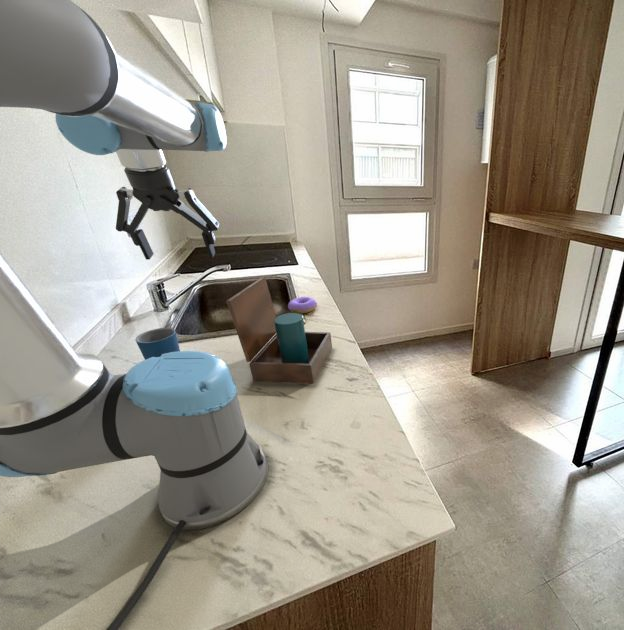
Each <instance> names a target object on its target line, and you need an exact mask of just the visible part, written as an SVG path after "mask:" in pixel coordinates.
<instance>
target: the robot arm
mask: <svg viewBox="0 0 624 630" xmlns="http://www.w3.org/2000/svg"><path fill="white" fill-rule="evenodd" d="M0 108H21V109H23V108H24V109H35V110H42V111H46V112H49V113H52V114H55V123H56V126H57V128H58V131H59V132H60V134H61V135H62V136H63V137H64V139H65V140H67V141H68V143H69V144H71V145H72V146H74V147H75V148H77V149H78V150H79V151H82V152H84V153H86V154H90V155H95V156H106V155H109V154H114V153H115V154H116V156H117V158H118V161H119V162H120V165H121V166H122V167H123V168H124V170H123V171H124V173H125V176H126V178H127V180H128V183H129V184H130V186H131V188H132V189H128V188H127V187H126V186H121V187H119V188H118V190H117V191H116V192H115V194H116V197H117V199H118V205H117V213H116V222H115V230H116V231H117V232H125V233H127V234H128V235H129V237H130V238H131V240H132V243H133V244H134V246H137V247H139V248H140V250H141V253H142V254H143V257H144V258H145V260H151V258H152V257H153V256H154V251H153V249H152V247H151V245H150V243H149V241H148V239H147V235H146V234H145V232H144V230H143V229H142V228H139V226H140V225H141V224H142V221H143V220H144V218H145V216H146V215H147V213H148V211H149V210H152V211H153V212H159V211H162V212H163V211H164V212H170V211H172V212H174V213H176V214H179V215H181V217H183V218H184V219H186V220H187V221H189V222H190V223H192V225H194V226H196V227H197V228H198V229H199V230H201V231H202V232H201V236H202V239H203V242H204V245H205V248H206V251H207V254H208V257H209V259H210V258H211V259H214V256H215V254H216V250H215V247H214V245H215V243H216V240H217V239H216V237H215V234H214V232H215V231H218V229H219V227H220V222H219V221H218V220H217V219H216V218H215V216H213V214H212V213H211V212H210V211H209V210H208V209H207V208H206V206H205V205H204V204H203V203H202V202H201V201H200V200H199V199H198V197H197V196H196V193H195V191H194V189H192V188H191V187H188V188H187V189H183V190H181V189H180V190H179V189H178V188H177V187H176V186H175V185H176V184H175V182H174V179H173V175H172V173H171V171H170V168H169V166H168V165H166V164H167V160H166V157H165V155H164V151H190V152H191V151H192V152H205V153H209V152H221V151H222V152H223V151H224V150H225V149H226V147H227V143H228V142H227V132H226V126H225V123H224V120H223V117H222V114H221V112H220V110H219V108H218V107H217V106H215V105H214V104H212V103H206V102H201V101H196V102H195V101H194V102H191V101H188V100H187V99H185V98H184V97H183V96H182V95H180V94H179V93H177V92H176V91H174V90H173V89H172V88H171V87H169V86H167V84H165V83H163V82H162V81H161V80H160V79H158V78H157V77H155V75H152V73H150V72H149V71H147V70H146V69H145V68H143V67H142V66H141V65H139V64H138V63H136V61H134V60H132V58H129V56H127V55H125V54H124V53H123V52H122V51H120V50H119V49H118V48H116V47H115V46H113V45H112V42H111V41H110V39H109V37H108V36H107V34H106V32H105V31H104V30H103V29H102V27H101V26H100V25H99V24H98V22H96V20H95V19H93V17H92V16H90V15H89V14H88V13H87V12H86V11H85V10H84V9H83V8H81V7H80V6H79V5H78V4H76V3H75V2H74V1H73V0H0ZM163 150H164V151H163ZM133 197H134V198H135V199H136V200H138V201H139V203H141V204H140V206H139V207H138V210H137V212H136V214H135V215H134V216H133V219H132V220H131V222H130V223H129V224H128V220H129V213H130V207H131V200H132V199H133ZM180 198H182V199H183V200H184V201H185V202H187V203H188V205H189V206H190V207H191V208H192V209H193V210H191V209H190V208H189V207H188V206H187V205H186V204H185V203H184V202H183V201H181V200H180ZM138 228H139V229H138ZM240 405H241V404H240V400H239V397H238V394H237V386H236V383H235V380H234V379H233V378H232V374H231V372H230V369H229V366H228V364H227V363H226V362H225V361H224V360H223V359H221V358H219V357H218V356H217V355H214V354H212V353H209V352H205V351H200V350H199V351H198V350H182V351H181V350H180V351H178V352H170V353H165V354H162V355H161V357H151V358H149V359H146V360H145V359H143V360H142V361H140V362H138V363H137V364H135V365H134V366H132V367H131V368H129V370H128V371H127V372H126V373H121V374H120V373H119V374H113V373H111V372H110V371H109V370H108V368H107V367H106V366H105V364H104V362H103V360H102V359H101V358H100V357H99V356H97V355H95V354H93V353H90V352H85V351H83V352H82V351H75V349H74V347H72V345H71V344H70V342H69V341H68V340H67V339H66V337H65V336H64V334H63V333H62V332H61V330H60V329H59V328H58V326H57V325H56V323H54V321H53V320H52V318H51V317H50V315H49V314H48V313H47V312H46V310H45V309H44V307H43V306H42V305H41V304H40V302H39V301H38V300H37V298H36V296H35V295H33V293H32V292H31V289H29V287H28V286H27V285H26V283H25V282H24V281H23V280H22V278H21V277H20V276H19V274H18V273H17V271H16V270H15V269H14V267H13V266H12V265H11V263H10V262H9V260H7V258H6V257H5V255H4V254H3V253H2V252H1V250H0V477H6V478H25V477H41V476H48V475H49V476H50V475H55V474H57V473H61V472H65V471H71V470H75V469H76V470H77V469H81V468H88V467H93V466H99V465H104V464H105V465H106V464H110V463H115V462H120V461H126V460H132V459H133V460H134V459H138V458H139V459H140V458H144V457H151V456H153V457H154V459H155V461H156V463H157V465H158V468H159V470H160V473H159V482H158V483H159V485H158V494H157V498H158V499H157V501H158V509H159V511H160V513H161V515H162V517H163V519H164V521H165V522H166V523H167V524H168V525H169V526H171V527H173V528H174V529H173V531H172V533H171V534H170V536H169V537H168V539H167V540H166V542H165V544H164V545H163V547H162V548H161V550H160V552H159V554H158V555H157V557H156V558H155V560H154V562H153V564H152V565H151V567H150V568H149V570H148V572H147V573H146V574H145V576H144V578H143V579H142V581H141V582H140V584H139V586H138V587H137V589H136V590H135V591H134V593H133V594H132V595H131V597H130V598H129V600H128V601H127V603H126V604H125V605H124V607H123V608H122V609H121V611H120V612H119V613H118V615H117V616H116V617H115V619H114V620H113V621H112V623H110V625H109V626H108V627H107V629H106V630H119V628H120V627H121V625H122V624H123V623H124V621H125V620H126V619H127V617H128V616H129V614H130V613H131V612H132V610H133V609H134V608H135V606H136V604H137V603H138V602H139V601H140V599H141V597H142V596H143V594H144V593H145V591H146V590H147V589H148V587H149V585H150V584H151V582H152V581H153V579H154V578H155V576H156V575H157V573H158V571H159V569H160V568H161V565H162V564H163V562H164V560H165V559H166V557H167V555H168V554H169V552H170V550H171V549H172V547H173V546H174V544H175V542H176V540H177V539H178V537H179V535H180V534H181V532H182V531H183V530H184V531H196V530H197V531H198V530H203V529H207V528H210V527H213V526H216V525H219V524H220V523H223V522H225V521H227V520H229V519H231V518H233V517H234V516H236V515H237V514H238V513H240V512H241V511H243V510H244V509H245V508H247V506H249V505H250V504H251V503H252V502H253V501H254V500H255V498H256V497H257V496H258V495H259V493H260V492H261V491H262V490H263V488H264V485H265V483H266V480H267V479H268V475H269V465H268V460H267V456H266V454H265V452H264V450H263V448H262V447H263V446H262V445H261V444H260V443H259V442H256V441H255V439H253V437H252V436H251V435H250V434H249V433H248V432H247V428H246V424H245V421H244V417H243V413H242V409H241V406H240Z"/></svg>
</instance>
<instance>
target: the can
mask: <svg viewBox="0 0 624 630" xmlns="http://www.w3.org/2000/svg"><path fill="white" fill-rule="evenodd" d="M274 322H275V328H276V333H277V338H278V344H279V349H280V354H281V360H282V363H303V364H308V363H309V356H308V349H307V342H306V335H305V332H306V329H305V322H304V316H303V315H302V313H294V312H287V313H283V314H280V315H278V316H276V318H275V319H274Z"/></svg>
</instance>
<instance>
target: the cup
mask: <svg viewBox="0 0 624 630" xmlns="http://www.w3.org/2000/svg"><path fill="white" fill-rule="evenodd" d="M135 343H136V344H137V346H138V349H139V350H140V352H141V355H142V356H143V358H144V359H143V360H146V359H149V358H151V357H161V355H162V354H165V353H170V352H178V351H181V349H180V344H179V341H178V337H177V332H176V330H175V329H174V328H172V327H159V328H153V329H150V330H147V331H145V332H142V333H140V334H139V335H137V336H136V337H135Z"/></svg>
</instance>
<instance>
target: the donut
mask: <svg viewBox="0 0 624 630" xmlns="http://www.w3.org/2000/svg"><path fill="white" fill-rule="evenodd" d="M317 307H318V302H317V299H315V298H313V297H310V296H300V297H296V298H293V299H292V300H290V301H289V302H288V304H287V309H288V310H289V311H290V313H298V314H306V313H310V312H312V311H314V310H315V309H316V308H317Z"/></svg>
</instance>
